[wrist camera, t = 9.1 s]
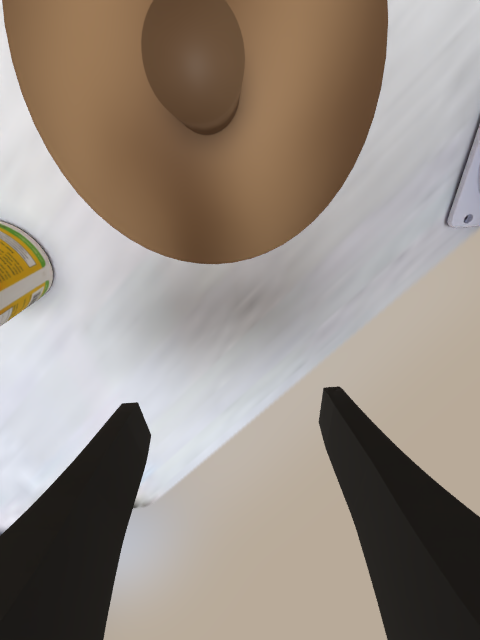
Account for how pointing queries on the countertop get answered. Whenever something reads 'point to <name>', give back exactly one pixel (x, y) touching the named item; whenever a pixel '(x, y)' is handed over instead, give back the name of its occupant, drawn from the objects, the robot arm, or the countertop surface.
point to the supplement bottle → (21, 271)
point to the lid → (202, 111)
